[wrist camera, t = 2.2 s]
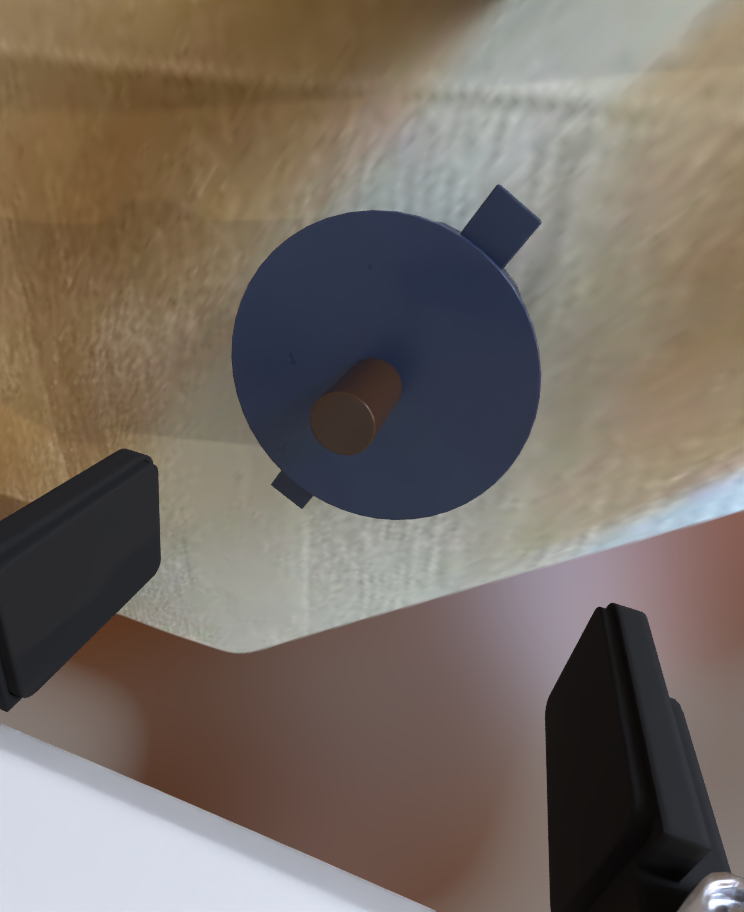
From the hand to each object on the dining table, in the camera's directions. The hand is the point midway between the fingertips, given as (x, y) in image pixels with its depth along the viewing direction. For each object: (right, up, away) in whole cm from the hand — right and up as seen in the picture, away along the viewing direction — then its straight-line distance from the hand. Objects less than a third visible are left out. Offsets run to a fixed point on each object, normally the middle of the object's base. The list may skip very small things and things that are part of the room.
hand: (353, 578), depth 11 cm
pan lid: (+1, +6, +15) cm, 16 cm away
